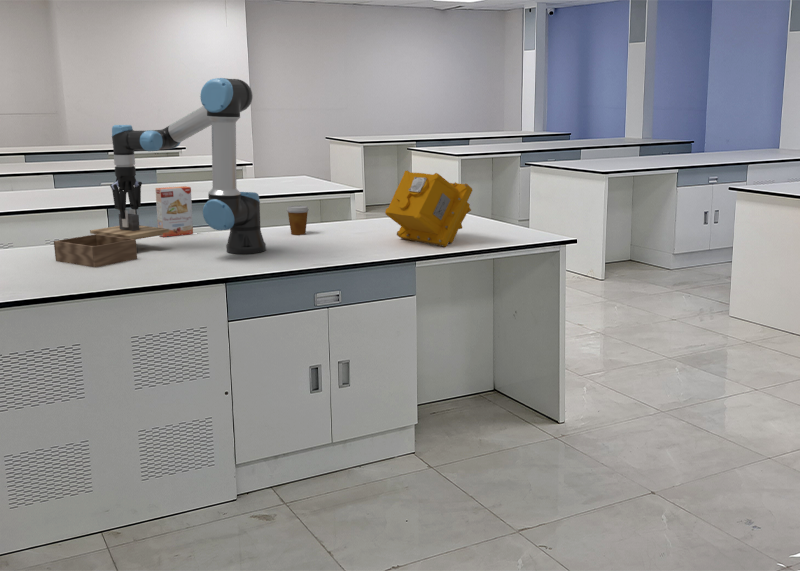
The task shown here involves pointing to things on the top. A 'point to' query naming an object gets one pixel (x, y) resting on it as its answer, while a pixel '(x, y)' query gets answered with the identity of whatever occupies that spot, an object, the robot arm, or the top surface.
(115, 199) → the robot arm
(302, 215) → the disposable coffee cup
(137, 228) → the lid
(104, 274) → the top surface
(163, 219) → the cracker box
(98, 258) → the storage box
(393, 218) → the control box
